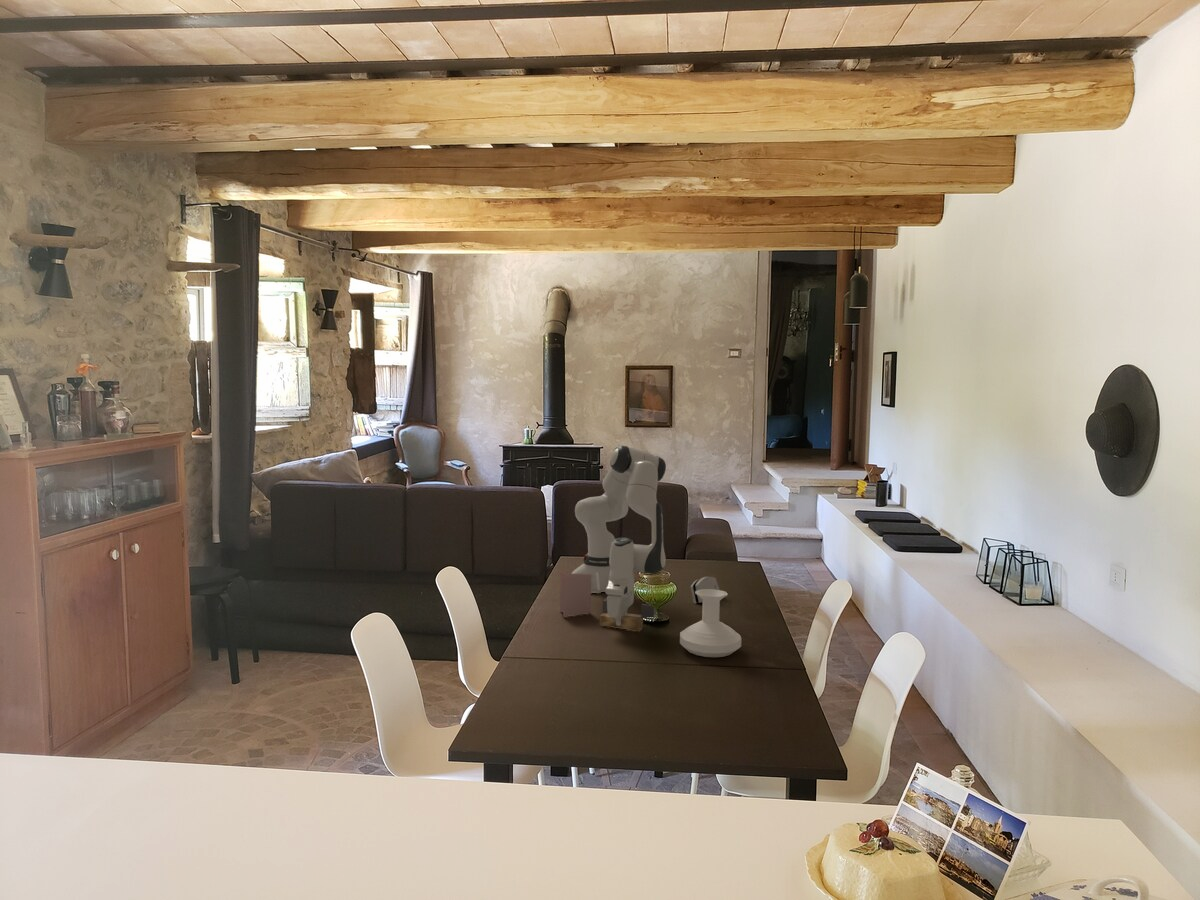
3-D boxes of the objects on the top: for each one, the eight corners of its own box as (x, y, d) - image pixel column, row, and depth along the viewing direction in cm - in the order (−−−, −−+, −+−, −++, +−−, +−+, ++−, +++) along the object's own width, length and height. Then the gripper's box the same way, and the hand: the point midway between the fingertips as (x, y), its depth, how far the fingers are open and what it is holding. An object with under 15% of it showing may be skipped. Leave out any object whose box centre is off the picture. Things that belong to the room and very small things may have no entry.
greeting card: (590, 613, 307) (591, 573, 306) (588, 618, 300) (588, 578, 299) (560, 611, 308) (560, 572, 307) (557, 617, 301) (557, 577, 300)
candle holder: (735, 665, 253) (737, 604, 252) (672, 657, 260) (673, 597, 258) (745, 645, 272) (747, 588, 270) (686, 638, 279) (687, 583, 277)
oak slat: (599, 626, 292) (599, 615, 291) (603, 623, 295) (604, 612, 295) (638, 632, 285) (638, 621, 285) (642, 629, 288) (642, 618, 288)
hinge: (704, 605, 319) (697, 580, 320) (694, 607, 322) (687, 582, 323) (724, 596, 333) (717, 572, 334) (714, 598, 336) (708, 574, 337)
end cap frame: (602, 617, 301) (603, 600, 301) (608, 613, 308) (608, 596, 307) (653, 623, 295) (653, 605, 295) (658, 618, 302) (658, 601, 301)
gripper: (621, 577, 300) (621, 614, 301) (604, 590, 280) (603, 630, 281) (638, 578, 298) (637, 615, 299) (621, 592, 278) (621, 632, 279)
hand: (621, 623), depth 290 cm, fingers closed on oak slat, 4 cm apart
